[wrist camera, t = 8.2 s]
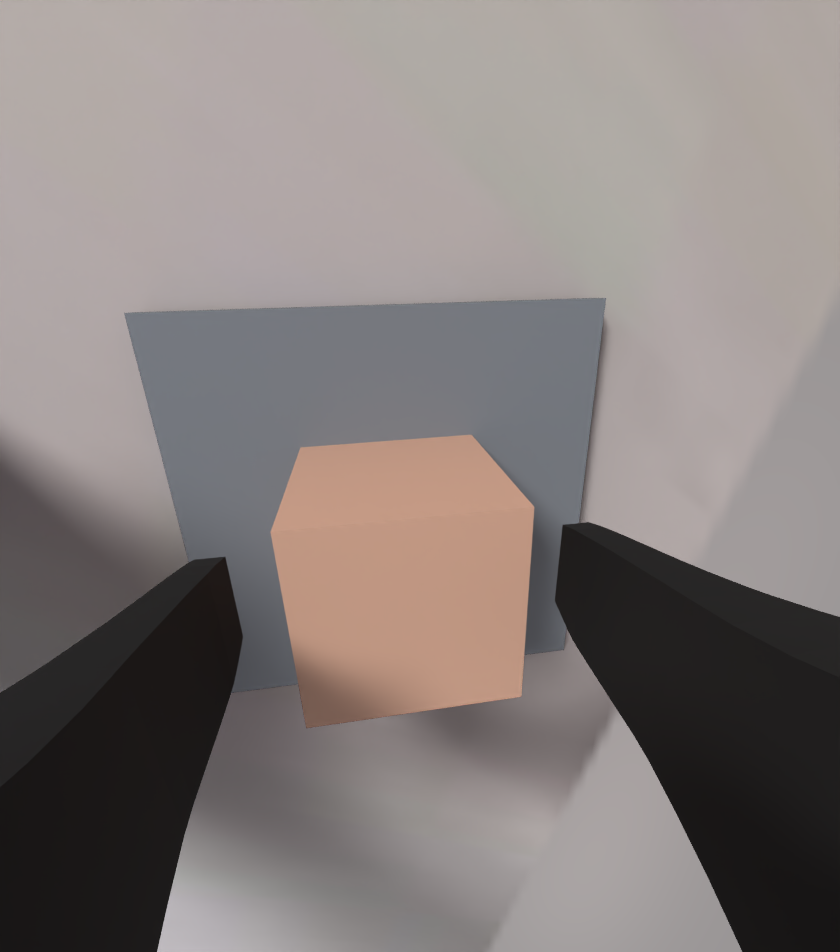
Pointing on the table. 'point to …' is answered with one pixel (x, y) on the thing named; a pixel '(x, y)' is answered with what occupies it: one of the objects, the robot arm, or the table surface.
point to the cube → (403, 577)
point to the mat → (362, 424)
